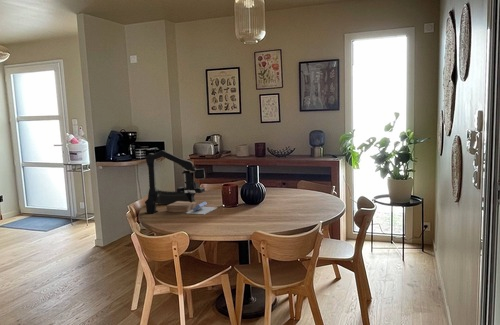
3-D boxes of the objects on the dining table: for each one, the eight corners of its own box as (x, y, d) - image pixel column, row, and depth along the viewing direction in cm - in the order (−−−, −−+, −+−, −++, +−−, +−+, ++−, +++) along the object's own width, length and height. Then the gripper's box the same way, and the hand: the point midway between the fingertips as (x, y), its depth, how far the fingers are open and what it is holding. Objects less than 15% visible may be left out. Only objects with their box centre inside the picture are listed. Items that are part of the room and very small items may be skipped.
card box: (192, 209, 266) (194, 211, 266) (198, 204, 264) (200, 207, 264) (199, 205, 274) (201, 208, 274) (205, 201, 272) (207, 203, 272)
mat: (204, 214, 258) (204, 214, 258) (185, 213, 264) (185, 212, 264) (217, 207, 274) (217, 207, 274) (199, 206, 280) (199, 206, 280)
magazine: (197, 190, 295) (157, 180, 294) (197, 191, 292) (156, 181, 291) (192, 212, 297) (152, 202, 296) (191, 213, 294) (151, 203, 293)
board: (187, 212, 265) (186, 206, 265) (167, 211, 272) (166, 205, 271) (198, 207, 278) (197, 201, 278) (178, 206, 285) (178, 200, 284)
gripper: (207, 177, 273) (209, 200, 275) (184, 177, 281) (186, 199, 283) (199, 180, 263) (201, 204, 265) (175, 180, 271) (177, 203, 272)
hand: (191, 202), depth 272 cm, fingers closed
